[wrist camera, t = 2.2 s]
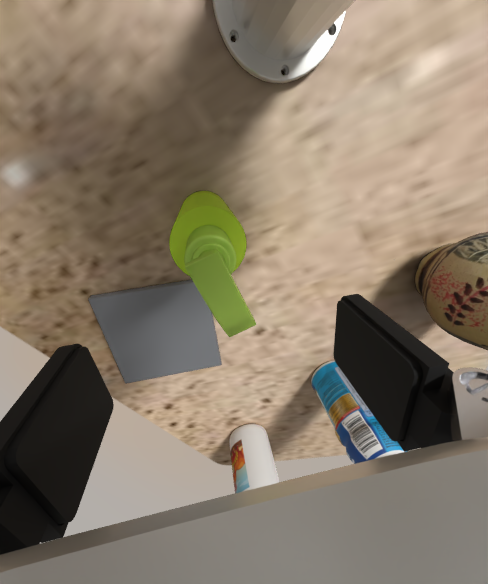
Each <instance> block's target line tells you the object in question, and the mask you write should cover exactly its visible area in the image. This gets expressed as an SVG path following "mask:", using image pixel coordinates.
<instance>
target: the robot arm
mask: <svg viewBox="0 0 488 584" xmlns="http://www.w3.org/2000/svg"><path fill="white" fill-rule="evenodd" d="M354 1H355V0H213V9H214V13H215V17H216V21H217V25H218V28H219V31H220V33H221V36H222V38H223V41H224V43H225V45H226V46H227V48H228V50H229V51H230V53H231V55H232V56H233V57H234V59H235V60H236V61H237V62H238V63H239V64H240V66H241V67H242V68H243V69H245V70H246V71H247V72H248V73H250V74H251V75H252V76H254V77H256V78H258V79H261V80H263V81H266V82H271V83H287V82H291V81H294V80H297V79H299V78H301V77H303V76H305V75H306V74H308V73H309V72H310V71H311V70H313V69H314V68H315V67H316V66H317V65H318V64H319V63H320V62H321V61H322V60H323V59H324V58H325V57H326V55H327V54H328V52H329V51H330V49H331V48H332V46H333V45H334V43H335V41H336V39H337V37H338V35H339V32H340V30H341V27H342V24H343V21H344V17H345V14H346V10H347V9H348V8H349V7H350V6H351V5H352V3H353V2H354ZM328 31H329V32H330V35H329V33H328ZM231 37H234V38H235V40H236V41H235V42H232V41H231ZM281 70H283V71H284V73H285V74H284V76H283V75H282V74H281ZM334 359H335V362H336V364H337V365H338V367H339V368H340V370H341V371H342V372H343V374H344V375H345V377H346V378H347V379H348V381H349V382H350V383H351V385H352V386H353V388H354V389H355V390H356V392H357V393H358V395H359V396H360V397H361V399H362V400H363V402H364V403H365V404H366V406H367V407H368V409H369V410H370V411H371V413H372V414H373V415H374V417H375V418H376V420H377V421H378V422H379V424H380V425H381V427H382V428H383V429H384V431H385V432H386V434H387V435H388V436H389V438H390V439H391V440H392V441H394V442H396V441H397V442H398V444H399V445H400V446H401V448H402V449H403V450H404V452H402V453H398V454H393V455H389V456H385V457H381V458H377V459H373V460H369V461H365V462H360V463H356V464H352V465H348V466H344V467H340V468H336V469H332V470H328V471H324V472H320V473H316V474H312V475H308V476H303V477H300V478H295V479H291V480H288V481H283V482H279V483H275V484H271V485H267V486H263V487H259V488H255V489H251V490H247V491H243V492H239V493H235V494H232V495H227V496H223V497H219V498H215V499H212V500H207V501H204V502H200V503H196V504H192V505H188V506H184V507H180V508H176V509H172V510H168V511H164V512H160V513H157V514H152V515H149V516H145V517H141V518H137V519H133V520H129V521H125V522H121V523H118V524H114V525H110V526H106V527H102V528H98V529H94V530H90V531H86V532H82V533H78V534H75V535H71V536H67V537H63V536H64V533H65V530H66V528H67V525H68V522H71V521H72V520H73V518H74V517H75V515H76V513H77V510H78V507H79V504H80V501H81V499H82V496H83V493H84V490H85V487H86V484H87V482H88V479H89V476H90V473H91V470H92V467H93V464H94V462H95V459H96V456H97V453H98V450H99V448H100V445H101V442H102V439H103V436H104V433H105V430H106V427H107V425H108V422H109V419H110V416H111V414H112V410H113V400H112V397H111V395H110V393H109V391H108V389H107V387H106V385H105V383H104V381H103V379H102V377H101V375H100V373H99V371H98V368H97V366H96V364H95V362H94V360H93V358H92V356H91V354H90V352H89V350H88V348H86V347H82V345H80V344H73V345H68V346H62V347H59V348H58V349H57V350H56V351H55V353H54V354H53V355H52V357H51V358H50V359H49V360H48V362H47V363H46V364H45V365H44V367H43V368H42V369H41V371H40V372H39V373H38V374H37V376H36V377H35V378H34V380H33V381H32V382H31V383H30V385H29V386H28V387H27V389H26V390H25V391H24V392H23V394H22V395H21V396H20V398H19V399H18V400H17V401H16V403H15V404H14V405H13V406H12V408H11V409H10V410H9V411H8V413H7V414H6V415H5V417H4V418H3V419H2V420H1V422H0V584H488V371H487V370H483V369H478V368H461V369H458V370H456V371H455V372H452V371H451V370H450V369H449V368H448V365H449V363H448V362H447V361H445V360H444V359H443V358H442V357H440V356H439V355H438V354H436V353H435V352H434V351H432V350H431V349H430V348H429V347H427V346H426V345H425V344H423V343H422V342H421V341H419V340H418V339H417V338H415V337H414V336H413V335H412V334H410V333H409V332H408V331H406V330H405V329H404V328H402V327H401V326H400V325H399V324H397V323H396V322H395V321H393V320H392V319H391V318H389V317H388V316H387V315H385V314H384V313H383V312H382V311H380V310H379V309H378V308H376V307H375V306H374V305H372V304H371V303H370V302H368V301H367V300H366V299H365V298H363V297H362V296H361V295H359V294H354V295H348V296H343V297H342V299H341V301H338V303H337V315H336V329H335V343H334ZM420 447H421V448H420ZM417 448H420V449H417ZM413 449H416V450H413ZM409 450H411V451H409ZM405 451H407V452H405ZM59 538H60V539H59ZM55 539H56V540H55ZM51 540H52V541H51ZM47 541H49V542H47ZM40 542H41V543H42V544H39V543H40ZM43 542H45V543H43Z"/></svg>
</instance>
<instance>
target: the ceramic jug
mask: <svg viewBox="0 0 488 584" xmlns="http://www.w3.org/2000/svg"><path fill="white" fill-rule="evenodd" d="M415 284H416V288H417V291H418V292H419V293H420V294H421V295H422V296H423V301H424V304H425V307H426V310H427V311H428V313H429V314H430V316H431V318H432V319H433V320H434V321H435V322H436V323H437V325H438V326H439V327H441V328H442V329H443V330H444V331H446V332H447V333H449V334H451V335H453V336H454V337H456V338H458V339H460V340H462V341H464V342H467V343H469V344H472V345H475V346H478V347H480V348H483V349H486V350H488V232H485V233H480V234H477V235H473V236H470V237H468V238H466V239H464V240H462V241H459V242H458V243H454V244H447V245H444V246H442V247H439V248H438V249H436V250H434V251H433V252H431V253H430V254H428V255H427V256H426V257H424V258H423V259H422V260H421V262H420V264H419V267H418V270H417V273H416V276H415Z"/></svg>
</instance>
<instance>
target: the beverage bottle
mask: <svg viewBox="0 0 488 584" xmlns="http://www.w3.org/2000/svg"><path fill="white" fill-rule="evenodd" d="M311 383H312V387H313V389H314V391H315V393H316V394H317V395H318V397H319V399H320V401H321V403H322V405H323V407H324V409H325V411H326V413H327V415H328V416H329V418H330V420H331V422H332V424H333V426H334V428H335V433H336V436H337V438H338V439H339V441H340V442H341V444H342V445H344V446H345V447H346V452H347V455H348V457H349V458H350V460H351V461H352V462H353V463H354V464H356V463H360V462H365V461H369V460H373V459H377V458H381V457H385V456H389V455H393V454H398V453H402V452H404V450H403V449H402V448H401V446H400V445H399V444H398V442H397V441H396V442H394V441H392V440H391V439H390V438H389V436H388V435H387V434H386V432H385V431H384V429H383V428H382V427H381V425H380V424H379V422H378V421H377V420H376V418H375V417H374V415H373V414H372V413H371V411H370V410H369V409H368V407H367V406H366V404H365V403H364V402H363V400H362V399H361V397H360V396H359V395H358V393H357V392H356V390H355V389H354V388H353V386H352V385H351V383H350V382H349V381H348V379H347V378H346V377H345V375H344V374H343V372H342V371H341V370H340V368H339V367H338V365H337V364H336V362H335V360H333V361H329V362H326V363H324V364H323V365H321V366H320V367H319V368H318V369H317V370H316V371H315V372H314V374H313V376H312V380H311ZM405 452H407V451H405Z"/></svg>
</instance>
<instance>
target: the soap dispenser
mask: <svg viewBox="0 0 488 584" xmlns="http://www.w3.org/2000/svg"><path fill="white" fill-rule="evenodd" d="M169 246H170V252H171V255H172V258H173V260H174V261H175V263H176V265H177V266H178V267H179V268H180V269H181V270H182V271H183V272H184V273H186V274H187V275H189V276H190V277H191V279H192V280H193V282H194V284H195V286H196V287H197V289H198V291H199V292H200V294H201V296H202V297H203V299H204V301H205V302H206V304H207V306H208V307H209V309H210V310H211V312H212V314H213V315H214V317H215V318H216V320H217V321H218V323H219V324H220V325H221V327H222V328H223V330H224V331H225V332H226V334H227V335H228V336H229V337H231V336H233V335H236V334H238V333H240V332H242V331H244V330H246V329H248V328H250V327H253V326H255V325H256V323H255V320H254V318H253V316H252V314H251V312H250V310H249V309H248V307H247V305H246V303H245V301H244V299H243V297H242V295H241V293H240V291H239V290H238V288H237V286H236V284H235V282H234V280H233V278H232V276H231V274H232V273H233V272H234V271H235V270H236V269H237V268H238V267H239V265H240V264H241V262H242V260H243V258H244V256H245V252H246V236H245V232H244V230H243V227H242V226H241V224H240V222H239V221H238V220H237V218H236V217H235V216H234V214H233V213H232V212H231V210H230V209H229V208H228V206H227V205H226V204H225V202H224V201H223V200H222V199H221V198H220V197H219V196H218V195H216V194H215V193H212V192H209V191H198V192H195V193H193V194H191V195H190V196H188V197H187V198H186V199H185V201H184V202H183V204H182V207H181V209H180V211H179V214H178V216H177V218H176V221H175V223H174V225H173V228H172V230H171V234H170V240H169Z"/></svg>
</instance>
